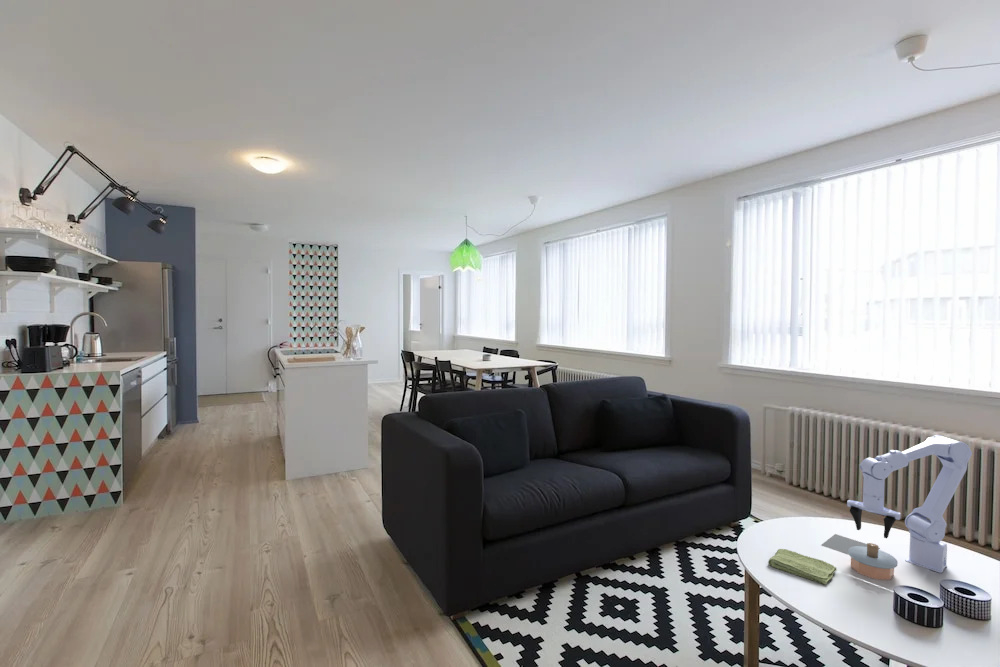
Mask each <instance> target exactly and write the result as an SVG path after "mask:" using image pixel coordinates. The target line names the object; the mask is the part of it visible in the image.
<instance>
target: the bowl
mask: <svg viewBox="0 0 1000 667" xmlns="http://www.w3.org/2000/svg"><path fill="white" fill-rule="evenodd" d="M850 567H851V568H852V569H853V570H854V571H855V572H857V574H860V575H863V576H865V577H869V578H870V579H871V578H872V579H874V580H886V581H887V580H888V581H889V580H891V579H892V578H893V577H894V575H895V568H892V569H883V568H876V567H872V566H868V565H865V564H863V563H860V562H858V561H856V560H854V559H853V558H852V557H850Z"/></svg>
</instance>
